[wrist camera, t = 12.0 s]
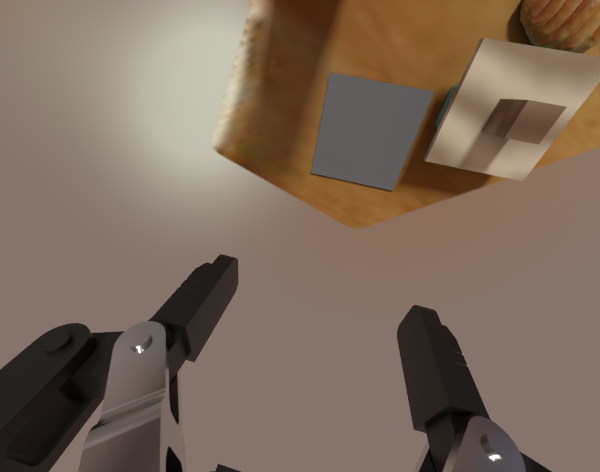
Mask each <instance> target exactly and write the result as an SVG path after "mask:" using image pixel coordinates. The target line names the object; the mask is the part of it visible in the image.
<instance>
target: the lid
mask: <svg viewBox="0 0 600 472" xmlns="http://www.w3.org/2000/svg"><path fill="white" fill-rule="evenodd" d="M599 82H600V57H599V56H592V55H586V54H580V53H574V52H568V51H562V50H555V49H549V48H543V47H537V46H531V45H524V44H518V43H512V42H506V41H500V40H493V39H487V38H483V39H480V40H479V42H478V44H477V46H476V49H475V51H474V53H473V55H472V57H471V59H470V61H469V63H468V66H467V68H466V70H465V72H464V74H463V76H462V78H461V80H460V83H459V85H458V87H457V89H456V91H455V93H454V95H453V97H452V100H451V102H450V104H449V106H448V108H447V110H446V112H445V114H444V117H443V119H442V121H441V123H440V125H439V127H438V129H437V132H436V134H435V136H434V138H433V140H432V142H431V144H430V146H429V149H428V151H427V153H426V155H425V157H424V159H423V160H425V161H427V162H432V163H436V164H441V165H446V166H451V167H456V168H460V169H465V170H470V171H475V172H480V173H485V174H489V175H494V176H499V177H504V178H509V179H514V180H518V181H523V180H524V179H525V178H526V176H527V175H528V174H529V172H530V171H531V170H532V169H533V167H534V166H535V165H536V163H537V162H538V161H539V160H540V158H541V157H542V156H543V154H544V153H545V152H546V150H547V149H548V148H549V147H550V145H551V144H552V143H553V141H554V140H555V139H556V138H557V136H558V135H559V134H560V132H561V131H562V130H563V128H564V127H565V126H566V125H567V123H568V122H569V121H570V119H571V118H572V117H573V115H574V114H575V113H576V112H577V110H578V109H579V108H580V106H581V105H582V104H583V102H584V101H585V100H586V99H587V97H588V96H589V95H590V93H591V92H592V91H593V90H594V88H595V87H596V86H597V84H598V83H599Z"/></svg>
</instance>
